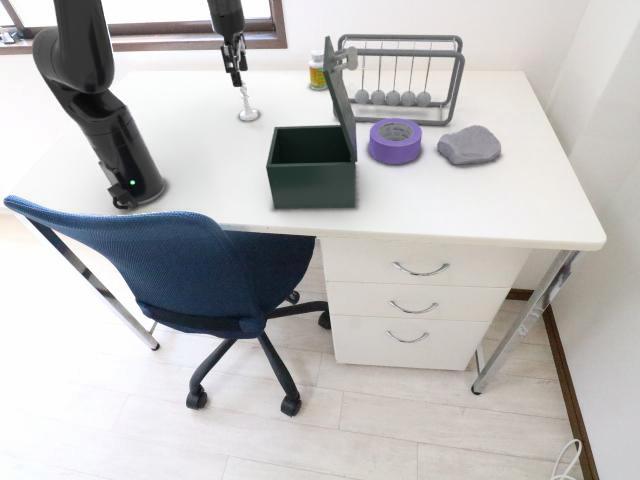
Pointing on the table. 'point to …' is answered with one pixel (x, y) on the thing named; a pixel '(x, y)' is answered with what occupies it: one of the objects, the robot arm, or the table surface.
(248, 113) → the chess piece
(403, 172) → the table surface
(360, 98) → the newton's cradle
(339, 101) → the bin lid
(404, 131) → the tape roll
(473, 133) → the stone block
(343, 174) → the waste bin
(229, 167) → the table surface
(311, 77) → the supplement bottle
